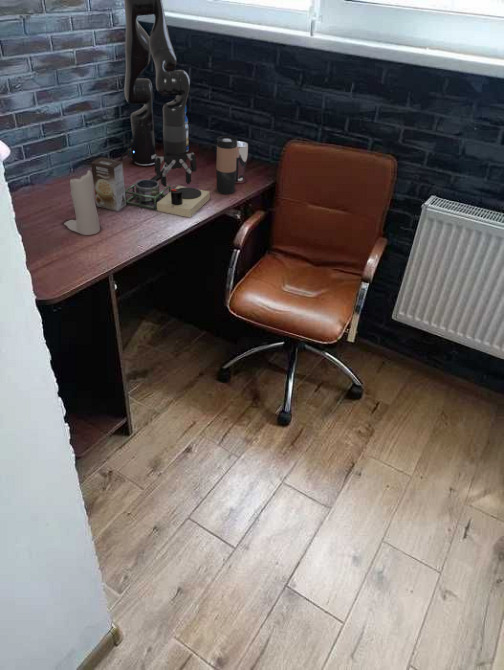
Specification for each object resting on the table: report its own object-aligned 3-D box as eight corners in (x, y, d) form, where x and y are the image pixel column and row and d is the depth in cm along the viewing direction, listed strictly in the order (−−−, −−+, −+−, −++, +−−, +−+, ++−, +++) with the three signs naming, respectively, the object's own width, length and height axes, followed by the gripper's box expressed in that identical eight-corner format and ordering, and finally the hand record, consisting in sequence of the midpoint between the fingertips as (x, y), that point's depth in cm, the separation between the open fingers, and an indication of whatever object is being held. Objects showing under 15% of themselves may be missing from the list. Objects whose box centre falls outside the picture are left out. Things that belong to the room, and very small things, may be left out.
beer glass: (247, 178, 209) (249, 141, 199) (245, 184, 203) (247, 147, 194) (231, 176, 209) (232, 140, 200) (228, 182, 204) (230, 145, 194)
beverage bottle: (185, 146, 235) (184, 101, 223) (191, 152, 229) (190, 106, 217) (168, 148, 232) (166, 102, 220) (174, 154, 226) (172, 107, 214)
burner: (169, 196, 183) (169, 194, 182) (181, 186, 190) (181, 185, 190) (194, 201, 181) (194, 200, 180) (205, 191, 188) (205, 190, 188)
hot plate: (188, 218, 176) (188, 210, 174) (155, 211, 178) (155, 203, 176) (209, 199, 190) (209, 191, 188) (178, 192, 193) (178, 184, 191)
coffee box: (95, 206, 179) (89, 162, 169) (105, 200, 184) (99, 156, 174) (118, 211, 177) (113, 167, 167) (127, 204, 182) (123, 161, 172)
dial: (184, 201, 179) (183, 189, 176) (179, 206, 176) (179, 193, 173) (174, 199, 180) (173, 187, 177) (169, 204, 177) (168, 191, 174)
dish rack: (124, 203, 182) (123, 191, 179) (141, 191, 192) (140, 179, 189) (155, 210, 180) (155, 197, 176) (171, 197, 189) (171, 185, 186)
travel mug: (238, 189, 199) (240, 138, 187) (229, 195, 193) (231, 143, 181) (221, 185, 201) (222, 134, 189) (212, 191, 196) (213, 139, 183)
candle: (74, 217, 171) (64, 159, 158) (104, 229, 166) (96, 170, 153) (58, 225, 166) (46, 166, 154) (88, 237, 161) (79, 176, 148)
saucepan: (132, 202, 183) (131, 185, 179) (153, 187, 196) (152, 170, 192) (153, 206, 182) (152, 189, 178) (172, 191, 194) (172, 174, 190)
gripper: (157, 143, 159) (160, 191, 169) (199, 139, 164) (199, 186, 174) (150, 135, 164) (153, 183, 174) (190, 132, 169) (191, 178, 179)
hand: (176, 184), depth 174 cm, fingers open, 8 cm apart
